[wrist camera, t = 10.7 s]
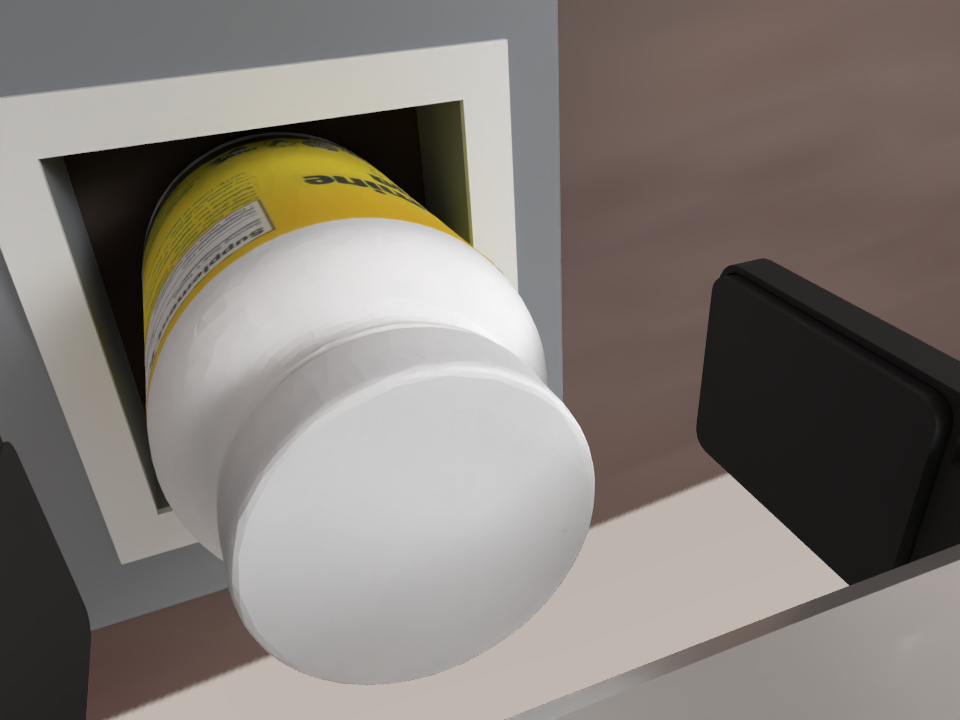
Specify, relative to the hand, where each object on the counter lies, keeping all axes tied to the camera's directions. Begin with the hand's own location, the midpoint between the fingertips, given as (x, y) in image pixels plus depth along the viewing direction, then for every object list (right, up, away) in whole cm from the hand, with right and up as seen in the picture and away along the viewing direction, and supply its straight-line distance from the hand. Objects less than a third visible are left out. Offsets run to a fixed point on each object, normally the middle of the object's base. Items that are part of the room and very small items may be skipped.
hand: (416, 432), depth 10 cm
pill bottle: (-4, +4, +8) cm, 10 cm away
